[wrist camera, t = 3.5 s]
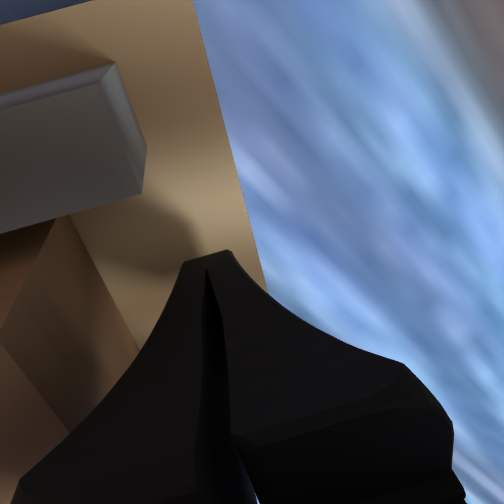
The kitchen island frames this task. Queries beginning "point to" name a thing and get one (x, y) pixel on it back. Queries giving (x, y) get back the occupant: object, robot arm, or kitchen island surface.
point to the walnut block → (52, 343)
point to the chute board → (177, 159)
